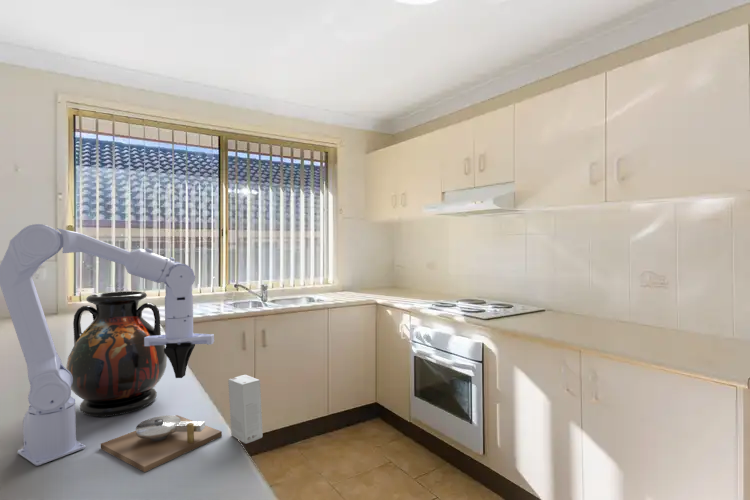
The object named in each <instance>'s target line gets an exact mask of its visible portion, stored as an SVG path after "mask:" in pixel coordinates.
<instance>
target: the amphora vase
mask: <svg viewBox="0 0 750 500" xmlns="http://www.w3.org/2000/svg"><path fill="white" fill-rule="evenodd" d="M147 296H148V295H147V292H144V291H138V290H137V291H133V290H132V291H131V290H130V291H129V290H126V291H111V292H103V293H102V292H101V293H94V294H91V295H88V296H87V297H86V298H85V300H86V302H88V303H90V304H93V305H95V308H94V306H91V305H82V306H80V307H79V308H78V309H77V310H76V312H74V315H73V322H72V325H73V327H72V329H73V345H74V346H73V347H72V349H71V350H70V353H69V355H68V356H67V358H66V359H67V360H66V365H65V368H66V369H67V370H69V371H70V373H71V374H72V377H73V383H72V386H71V392H73V394H75V395H76V396H77V397H79V398H80V399H82V401H81V402H80V404H79V410H80V412H81V413H83V414H84V415H87V416H91V417H101V418H102V417H112V416H119V415H120V416H121V415H124V414H128V413H131V412H134V411H138V410H140V409H142V408H145V407H146V406H148V405H150V404H151V403H152V402H154V401H155V399H157V393H158V392H157V391H156V389H155V388H154V387H156V386H157V384H158V383H159V382H160V381H161V380H162V377H163V376H164V373H165V372H166V367H167V364H168V363H167V359H168V357H167V355H166V354H165V353H164V349H165V348H166V345H150V346H144V338H145V337H147V336H156V335H162V333H161V331H162V330H161V315H160V314H161V313H160V309H158V306H157V305H156V304H154V303H152V302H145V303H142V304H141V305H140V306H139V303H140V302H141V300H144V299H145V298H147ZM145 309H151V311H152V312H153V318H154V322H153V323H154V324H153V325H154V327H153V326H152V325H151V324H150V323H149V322H148V321H146V319H144V318H143V317H142V315H143V311H144V310H145ZM86 311H87V312H89V313H90V314H91V316H92V320H93V321H92V322H91V323H90V324H89V326H88V327H86V328H85V330H84V331H83V332H82V325H81V324H82V323H81V320H82V315H83V313H84V312H86Z"/></svg>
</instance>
